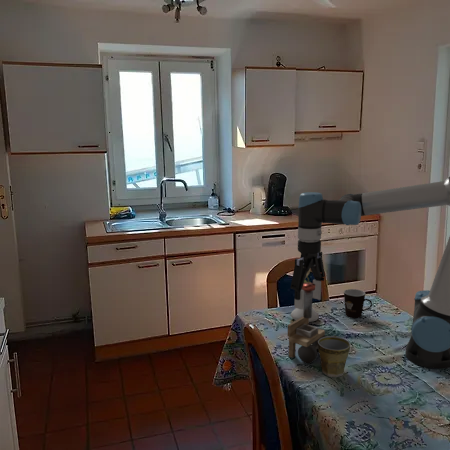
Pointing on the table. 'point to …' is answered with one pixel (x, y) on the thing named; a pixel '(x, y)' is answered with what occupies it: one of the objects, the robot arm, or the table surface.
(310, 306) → the pin
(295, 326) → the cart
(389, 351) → the table surface
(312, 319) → the flower in vase
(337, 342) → the ceramic cup
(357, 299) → the coffee mug
